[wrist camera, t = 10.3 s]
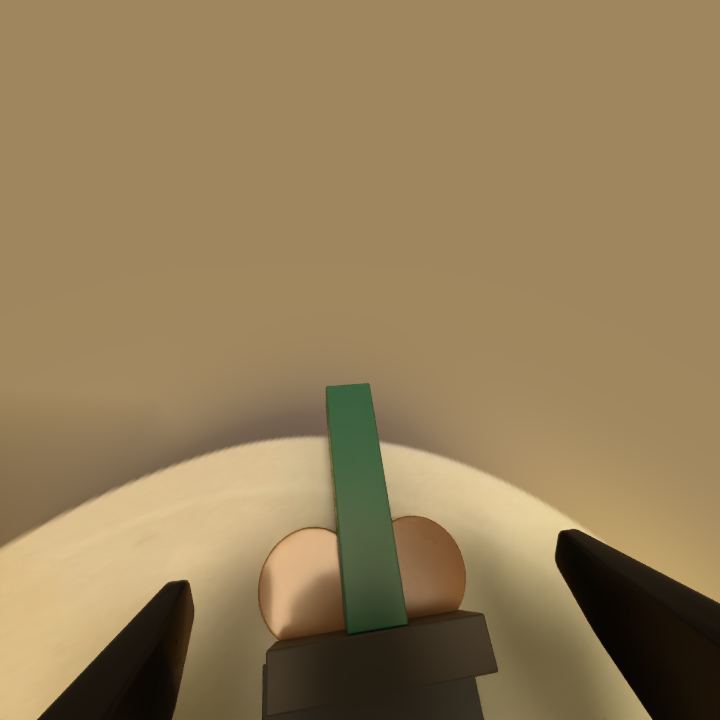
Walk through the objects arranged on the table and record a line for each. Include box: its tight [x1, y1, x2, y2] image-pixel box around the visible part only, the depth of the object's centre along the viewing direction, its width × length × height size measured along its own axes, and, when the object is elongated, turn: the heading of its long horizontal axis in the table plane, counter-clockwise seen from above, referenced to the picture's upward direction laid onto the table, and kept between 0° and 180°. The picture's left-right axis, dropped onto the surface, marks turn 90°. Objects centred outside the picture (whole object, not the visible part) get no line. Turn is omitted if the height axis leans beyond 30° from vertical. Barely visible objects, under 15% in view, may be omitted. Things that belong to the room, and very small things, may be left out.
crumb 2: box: [392, 516, 466, 619], centre depth 15 cm, size 4×4×1 cm
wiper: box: [266, 383, 498, 717], centre depth 14 cm, size 2×7×10 cm
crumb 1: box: [258, 527, 345, 641], centre depth 14 cm, size 4×4×1 cm
